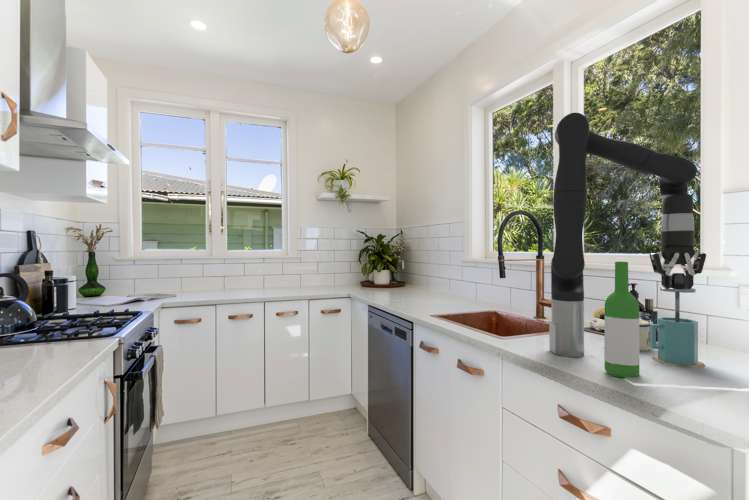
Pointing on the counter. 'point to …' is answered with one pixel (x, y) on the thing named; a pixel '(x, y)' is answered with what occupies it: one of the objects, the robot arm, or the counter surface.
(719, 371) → the counter surface
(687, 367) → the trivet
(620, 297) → the wine bottle
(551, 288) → the robot arm
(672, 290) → the knob on metal rod
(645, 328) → the teacup with lid
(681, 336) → the press pot
